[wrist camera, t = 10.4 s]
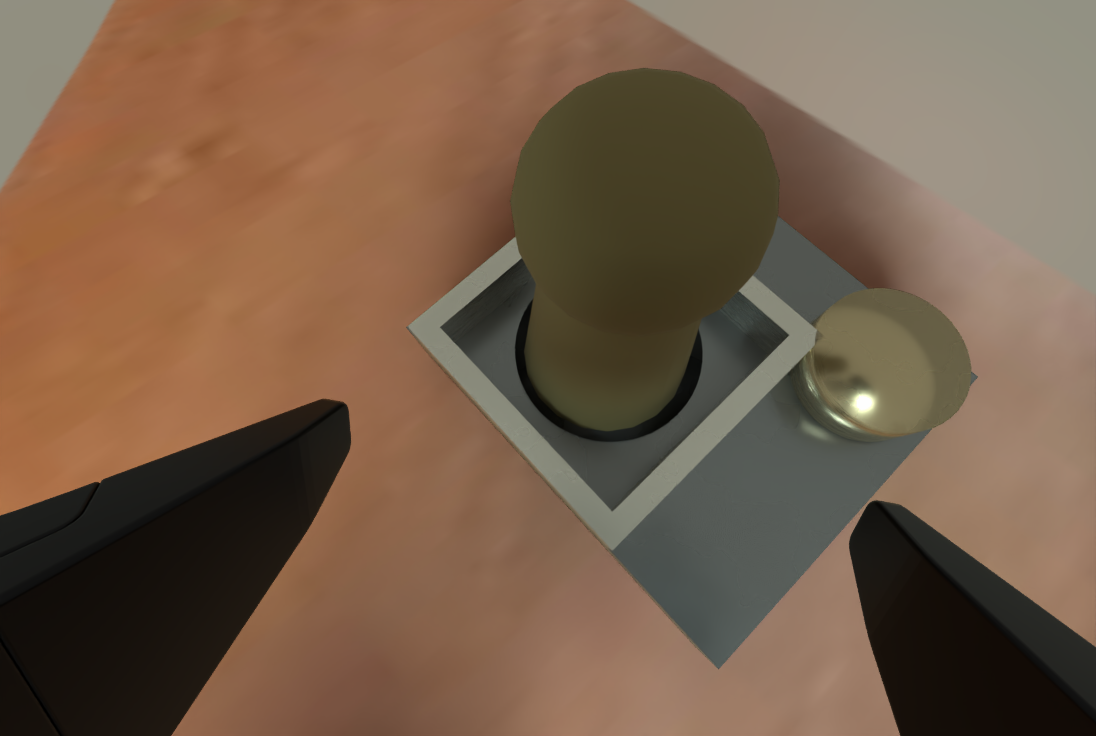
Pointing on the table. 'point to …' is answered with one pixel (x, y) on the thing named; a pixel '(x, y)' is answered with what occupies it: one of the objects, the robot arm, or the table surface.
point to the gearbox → (724, 427)
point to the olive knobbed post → (635, 236)
